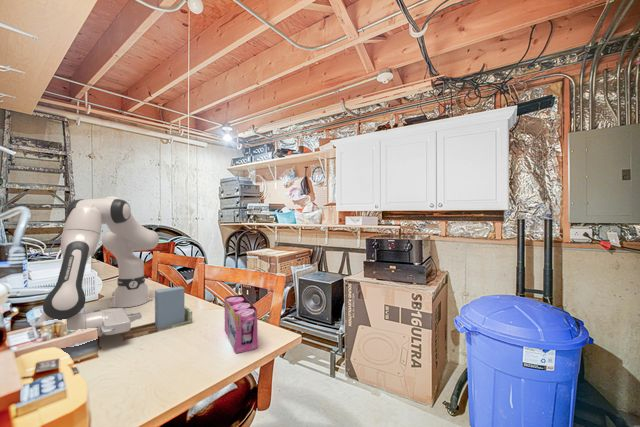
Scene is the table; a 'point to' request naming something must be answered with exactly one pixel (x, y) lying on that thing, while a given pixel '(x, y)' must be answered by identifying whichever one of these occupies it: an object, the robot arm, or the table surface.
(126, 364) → the table surface
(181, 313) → the pillar block
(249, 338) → the gum box
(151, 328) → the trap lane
